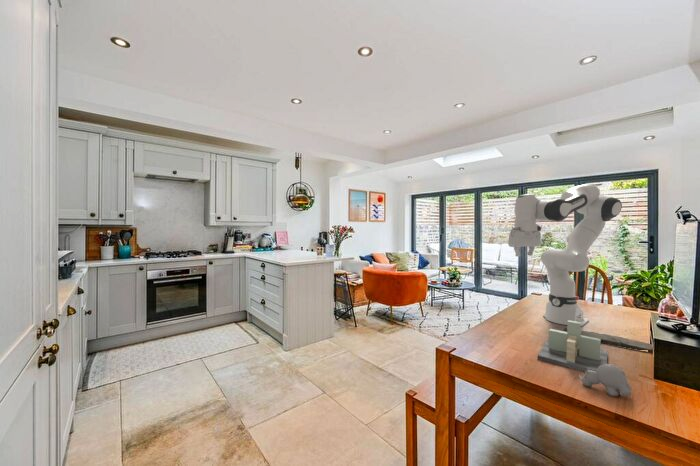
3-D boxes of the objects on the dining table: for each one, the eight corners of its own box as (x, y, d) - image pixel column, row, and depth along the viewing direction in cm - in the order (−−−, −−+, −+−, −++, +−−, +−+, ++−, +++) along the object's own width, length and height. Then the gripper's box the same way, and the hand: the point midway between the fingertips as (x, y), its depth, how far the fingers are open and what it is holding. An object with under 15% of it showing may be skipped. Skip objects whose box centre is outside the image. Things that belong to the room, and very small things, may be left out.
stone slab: (565, 325, 147) (651, 339, 126) (565, 331, 147) (651, 346, 126) (562, 331, 139) (653, 347, 119) (562, 338, 139) (653, 355, 119)
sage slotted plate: (548, 348, 120) (549, 318, 119) (549, 346, 122) (550, 316, 121) (599, 360, 109) (600, 327, 109) (600, 358, 111) (601, 325, 110)
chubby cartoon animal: (588, 389, 98) (577, 362, 100) (635, 389, 89) (621, 360, 92) (584, 397, 93) (572, 368, 95) (633, 398, 84) (619, 367, 87)
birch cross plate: (548, 341, 131) (548, 321, 131) (607, 354, 118) (608, 332, 117) (537, 359, 113) (538, 336, 113) (606, 377, 100) (606, 351, 100)
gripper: (517, 227, 133) (517, 257, 134) (543, 227, 143) (543, 255, 143) (505, 227, 139) (504, 256, 139) (530, 227, 149) (530, 254, 149)
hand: (524, 255), depth 141 cm, fingers open, 8 cm apart
